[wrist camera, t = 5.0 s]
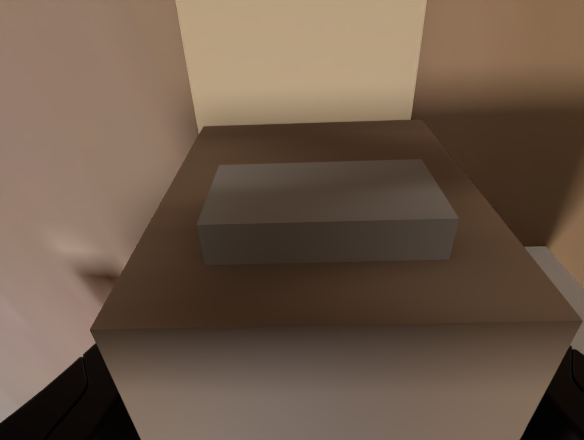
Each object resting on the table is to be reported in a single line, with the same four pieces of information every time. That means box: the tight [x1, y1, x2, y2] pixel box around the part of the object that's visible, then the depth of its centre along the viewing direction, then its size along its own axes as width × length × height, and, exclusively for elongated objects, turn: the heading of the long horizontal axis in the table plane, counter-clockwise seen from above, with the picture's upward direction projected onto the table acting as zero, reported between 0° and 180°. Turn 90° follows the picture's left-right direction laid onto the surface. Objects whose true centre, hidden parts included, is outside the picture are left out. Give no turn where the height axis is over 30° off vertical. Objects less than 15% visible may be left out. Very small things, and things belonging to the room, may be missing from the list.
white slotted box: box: [175, 0, 584, 355], centre depth 16 cm, size 20×16×9 cm
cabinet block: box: [90, 119, 583, 440], centre depth 8 cm, size 5×7×6 cm
